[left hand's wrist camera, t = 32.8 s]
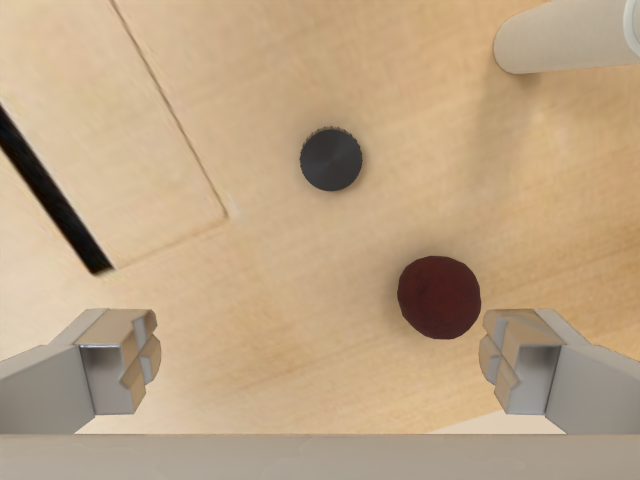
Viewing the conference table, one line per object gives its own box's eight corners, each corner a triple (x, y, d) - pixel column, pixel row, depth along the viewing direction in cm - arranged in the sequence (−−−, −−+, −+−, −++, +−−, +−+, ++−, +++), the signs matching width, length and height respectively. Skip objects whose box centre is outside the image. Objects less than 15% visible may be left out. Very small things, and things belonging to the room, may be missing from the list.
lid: (347, 194, 38) (348, 200, 36) (292, 174, 37) (290, 179, 35) (369, 139, 36) (372, 142, 34) (312, 117, 36) (312, 118, 34)
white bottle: (523, -1, 32) (728, -93, 16) (561, 39, 33) (788, -9, 17) (481, 48, 34) (631, 9, 17) (518, 86, 35) (693, 81, 18)
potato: (430, 325, 42) (450, 368, 36) (375, 282, 41) (386, 319, 34) (482, 275, 41) (514, 312, 34) (427, 228, 39) (449, 257, 32)
